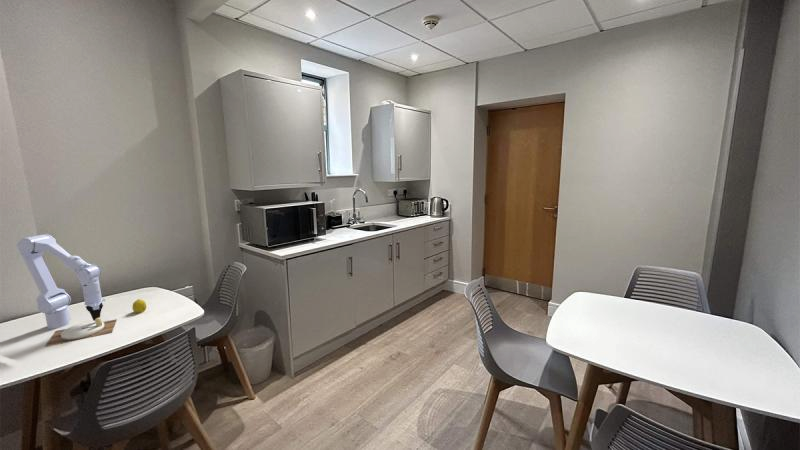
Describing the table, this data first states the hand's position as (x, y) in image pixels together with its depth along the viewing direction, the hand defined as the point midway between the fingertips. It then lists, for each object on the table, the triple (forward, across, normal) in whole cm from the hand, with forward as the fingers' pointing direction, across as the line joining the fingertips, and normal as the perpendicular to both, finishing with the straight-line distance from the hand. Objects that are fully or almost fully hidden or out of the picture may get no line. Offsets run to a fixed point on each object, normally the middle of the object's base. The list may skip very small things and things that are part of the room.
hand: (96, 319), depth 151 cm
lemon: (+4, +4, -17) cm, 18 cm away
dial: (+3, -4, +5) cm, 7 cm away
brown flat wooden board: (+4, -4, +5) cm, 8 cm away
